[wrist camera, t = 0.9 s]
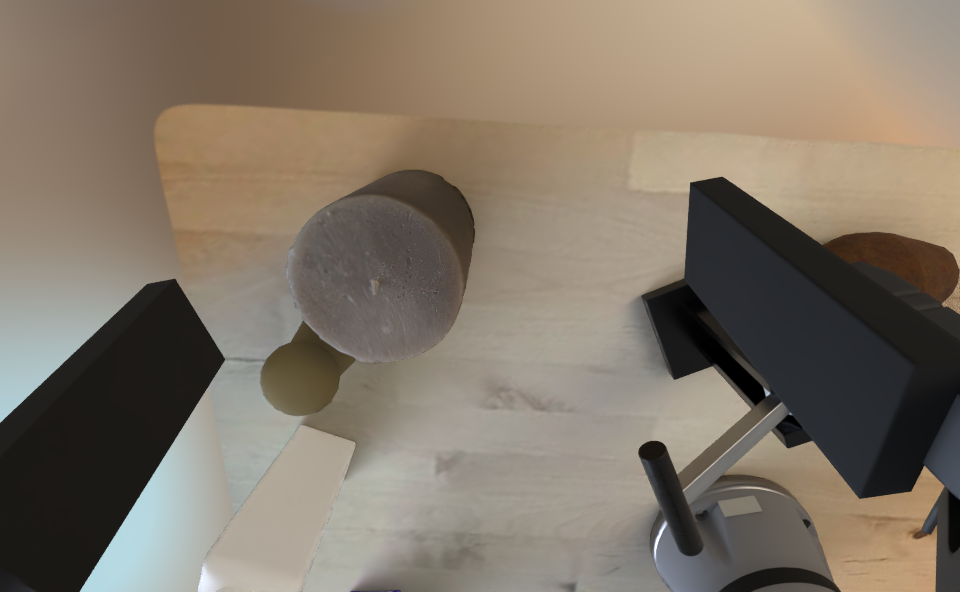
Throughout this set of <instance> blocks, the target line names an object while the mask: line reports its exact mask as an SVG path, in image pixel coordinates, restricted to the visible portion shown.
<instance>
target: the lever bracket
mask: <svg viewBox="0 0 960 592" xmlns="http://www.w3.org/2000/svg"><path fill="white" fill-rule="evenodd" d="M641 297H642V300H643V303H644V305H645V308H646V311H647V314H648V316H649V319H650V322H651V325H652V327H653V330H654V333H655V336H656V338H657V341H658V344H659V346H660V349H661V352H662V355H663V357H664V360H665V363H666V366H667V368H668V371H669V373H670V375H671V376H672V377H673V379H674V380H675V379H678V378H681V377H684V376H686V375H689V374H692V373H695V372H698V371H700V370H703V369H706V368H709V367H711V366H713V367H714V368H715V369H716V370H717V371H718V373H719V374H720V375H721V376H722V377H723V378H724V379H725V380H726V381H727V382H728V384H729V385H730V386H731V387H732V388H733V389H734V390H735V391H736V392H737V393H738V395H739V396H740V397H741V398H742V399H743V400H744V401H745V402H746V403H747V404H748V406H749V407H750V408H751V409H753V408H754V407H755V406H756V405H758V404H759V403H760V402H761V401H762V400H763V399H764V398H766V395H765V391H764V388H765V389H766V390H767V391H768V392H769V393H770V394H771V395H774V394H775V392H774V391H773V390H772V389H771V387H770V386H769V385H768V384H767V382H766V381H765V380H764V379H763V377H762V376H761V375H760V374H759V372H758V371H757V370H756V369H755V367H754V366H753V365H752V364H751V362H750V361H749V360H748V359H747V357H746V356H745V355H744V354H743V352H742V351H741V350H740V349H739V347H738V346H737V345H736V344H735V342H734V341H733V340H732V338H731V337H730V336H729V335H728V333H727V332H726V331H725V330H724V328H723V327H722V326H721V325H720V323H719V322H718V321H717V320H716V318H715V317H714V316H713V315H712V313H711V312H710V311H709V310H708V308H707V307H706V306H705V305H704V303H703V302H702V301H701V300H700V298H699V297H698V296H697V295H696V293H695V292H694V291H693V290H692V288H691V287H690V286H689V285H688V283H687V282H686V281H685V280H684V279H682V280H680V281H677V282H675V283H672V284H670V285H667V286H664V287H662V288H659V289H657V290H654V291H652V292H649V293H647V294H644V295H642V296H641ZM763 387H764V388H763ZM771 431H772V432H773V433H774V434H775V435H776V436H777V438H778V439H779V440H780V441H781V442H782V443H783V444H784V445H785V446H786V447H787V448H791V447H794V446H798V445H801V444H804V443H807V442H810V441H813V440H812V439H811V437H810V436H809V435H808V434H807V432H806V431H805V430H804V429H803V427H802V426H801V425H800V424H799V422H798V421H797V420H796V419H795V417H794V416H793V415H790V414H788V415H787V416H786V417H785V418H784V419H783V420H782V421H781V422H780V423H778V424H777V425H776V426H775V427H774V428H773V429H772V430H771Z"/></svg>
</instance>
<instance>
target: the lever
mask: <svg viewBox="0 0 960 592" xmlns="http://www.w3.org/2000/svg"><path fill="white" fill-rule="evenodd" d="M763 388H764V387H763ZM764 391H765V395H766V398H764V399H763V400H762V401H761V402H760V403H759V404H758V405H756V406H755V407H754V408H753V409H752V410H751V411H750V412H748V413H747V414H746V415H745V416H744V417H743V418H742V419H740V420H739V421H738V422H737V423H736V424H735V425H734V426H732V427H731V428H730V429H729V430H728V431H727V432H726V433H724V434H723V435H722V436H721V437H720V438H719V439H718V440H716V441H715V442H714V443H713V444H712V445H711V446H710V447H708V448H707V449H706V450H705V451H704V452H703V453H702V454H700V455H699V456H698V457H697V458H696V459H695V460H694V461H692V462H691V463H690V464H689V465H688V466H687V467H686V468H684V469H683V470H682V471H681V472H680V473H679V474H678V475H677V474H676V471H675V469H674V466H673V463H672V461H671V458H670V456H669V453H668V451H667V448H666V446H665V445H664V444H663V443H662V442H659V441H649V442H647V443H645V444H643V445H642V446H641V447H640V448H639V452H638V454H639V457H640V459H641V462H642V464H643V467H644V469H645V472H646V474H647V476H648V479H649V481H650V484H651V486H652V488H653V491H654V493H655V496H656V498H657V500H658V503H659V505H660V508H661V510H662V512H663V515H664V517H665V520H666V522H667V524H668V527H669V529H670V532H671V534H672V536H673V539H674V541H675V544H676V546H677V548H678V550H679V551H680V552H681V553H682V554H683V555H686V556H696V555H698V554H700V553H701V552H702V550H703V547H704V543H703V540H702V538H701V535H700V533H699V530H698V527H697V525H696V522H695V520H694V517H693V515H692V512H691V509H690V507H689V505H690V504H691V503H692V502H693V501H694V500H695V499H696V498H697V497H698V496H700V495H701V494H702V493H703V492H704V491H705V490H706V489H707V488H708V487H709V486H711V485H712V484H713V483H714V482H715V481H716V480H717V479H718V478H719V477H720V476H721V475H723V474H724V473H725V472H726V471H727V470H728V469H729V468H730V467H731V466H732V465H734V464H735V463H736V462H737V461H738V460H739V459H740V458H741V457H742V456H743V455H744V454H746V453H747V452H748V451H749V450H750V449H751V448H752V447H753V446H754V445H755V444H757V443H758V442H759V441H760V440H761V439H762V438H763V437H764V436H765V435H766V434H767V433H769V432H770V431H771V430H772V429H773V428H774V427H775V426H776V425H777V424H778V423H780V422H781V421H782V420H783V419H784V418H785V417H786V416H787V415H788V414H790V415H792V414H791V412H790V411H789V410H788V409H787V407H786V406H785V405H784V404H783V402H782V401H781V400H780V399H779V397H778V396H777V395H776V394H774V395H771V394H770V393H769V392H768V391H767V390H766V389H765V388H764Z"/></svg>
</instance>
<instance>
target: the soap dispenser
mask: <svg viewBox="0 0 960 592" xmlns="http://www.w3.org/2000/svg"><path fill="white" fill-rule="evenodd" d="M355 447H356V444H355V442H353V441H350V440H347V439H344V438H341V437H338V436H335V435H332V434H329V433H326V432H323V431H320V430H317V429H313V428H310V427H307V426H304V425H301V426H299V427H298V429H297V430H296V431H295V433H294V434H293V436H292V437H291V438H290V440H289V441H288V443H287V444H286V445H285V447H284V448H283V449H282V451H281V452H280V454H279V455H278V456H277V458H276V459H275V460H274V462H273V463H272V465H271V466H270V467H269V469H268V470H267V471H266V473H265V474H264V476H263V477H262V478H261V480H260V481H259V482H258V484H257V485H256V487H255V488H254V489H253V491H252V492H251V493H250V495H249V496H248V498H247V499H246V500H245V502H244V503H243V504H242V506H241V507H240V509H239V510H238V511H237V513H236V514H235V515H234V517H233V518H232V520H231V521H230V523H229V524H228V525H227V526H226V528H225V529H224V531H223V532H222V533H221V535H220V536H219V537H218V539H217V540H216V542H215V543H214V544H213V546H212V547H211V549H210V550H209V551H208V553H207V555H206V556H205V559H204V564H203V568H202V573H201V578H200V583H199V587H198V591H197V592H302V590H303V587H304V585H305V582H306V579H307V577H308V574H309V571H310V569H311V566H312V564H313V561H314V558H315V556H316V553H317V550H318V548H319V545H320V542H321V540H322V537H323V534H324V532H325V529H326V526H327V524H328V521H329V519H330V516H331V513H332V511H333V508H334V505H335V503H336V500H337V497H338V495H339V492H340V489H341V487H342V484H343V481H344V478H345V476H346V473H347V470H348V467H349V464H350V461H351V458H352V455H353V453H354V450H355Z"/></svg>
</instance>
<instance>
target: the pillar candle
mask: <svg viewBox="0 0 960 592" xmlns="http://www.w3.org/2000/svg"><path fill="white" fill-rule="evenodd" d="M474 236H475V229H474V218H473V215H472V212H471V209H470V207H469V205H468V203H467V201H466V199H465V197H464V196H463V195H462V193H461V192H460V190H459V189H458V188H456V187H454V186H452V185H451V184H450V183H448V182H446V181H445V180H444V179H443V178H442V177H441V176H439V175H437V174H434V173H431V172H427V171H422V170H403V171H399V172H395V173H392V174H389V175H387V176H385V177H383V178H381V179H379V180H377V181H375V182H373V183H371V184H369V185H367V186H365V187H363V188H361V189H359V190H357V191H355V192H353V193H351V194H349V195H347V196H345V197H343V198H341V199H339V200H337V201H335V202H333V203H331V204H330V205H328V206H326V207H324V208H323V209H321V210H320V211H318V212H317V213H316V214H315V215H314V216H313V217H312V218H311V219H310V220H309V221H308V222H307V223H306V224H305V226H304V227H303V228H302V230H301V231H300V233H299V235H298V236H297V238H296V241H295V243H294V245H293V246H292V247H291V249H290V250H289V252H288V258H289V262H288V264H287V266H286V268H287V270H286V274H287V277H288V279H289V283H288V285H290V287H291V291H292V293H293V298H294V304H295V307H296V308H298V309H299V310H300V312H301V314H302V318H303V320H304V322H305V323H306V324H308V325H309V326H310V327H311V329H312V330H313V331H314V332H316V333H317V334H318V335H319V338H320V339H322V340H324V341H325V342H327V343H328V344H329V345H331V346H333V347H334V348H336V349H337V350H338V351H340V352H343V353H345V354H348V355H350V356H353V357H355V359H356V360H358V361H361V362H363V363H375V361H379V362H385V361H389V362H393V361H398V360H403V359H408V358H412V357H415V356H417V355H419V354H421V353H423V352H425V351H427V350H429V349H430V348H432V347H433V346H435V345H436V344H437V343H439V342H440V341H441V340H442V339H443V338H444V336H445V335H446V334H447V333H448V331H449V330H450V328H451V327H452V325H453V323H454V322H455V320H456V317H457V315H458V312H459V310H460V307H461V304H462V300H463V296H464V292H465V288H466V283H467V278H468V272H469V267H470V262H471V256H472V248H473V243H474Z"/></svg>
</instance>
